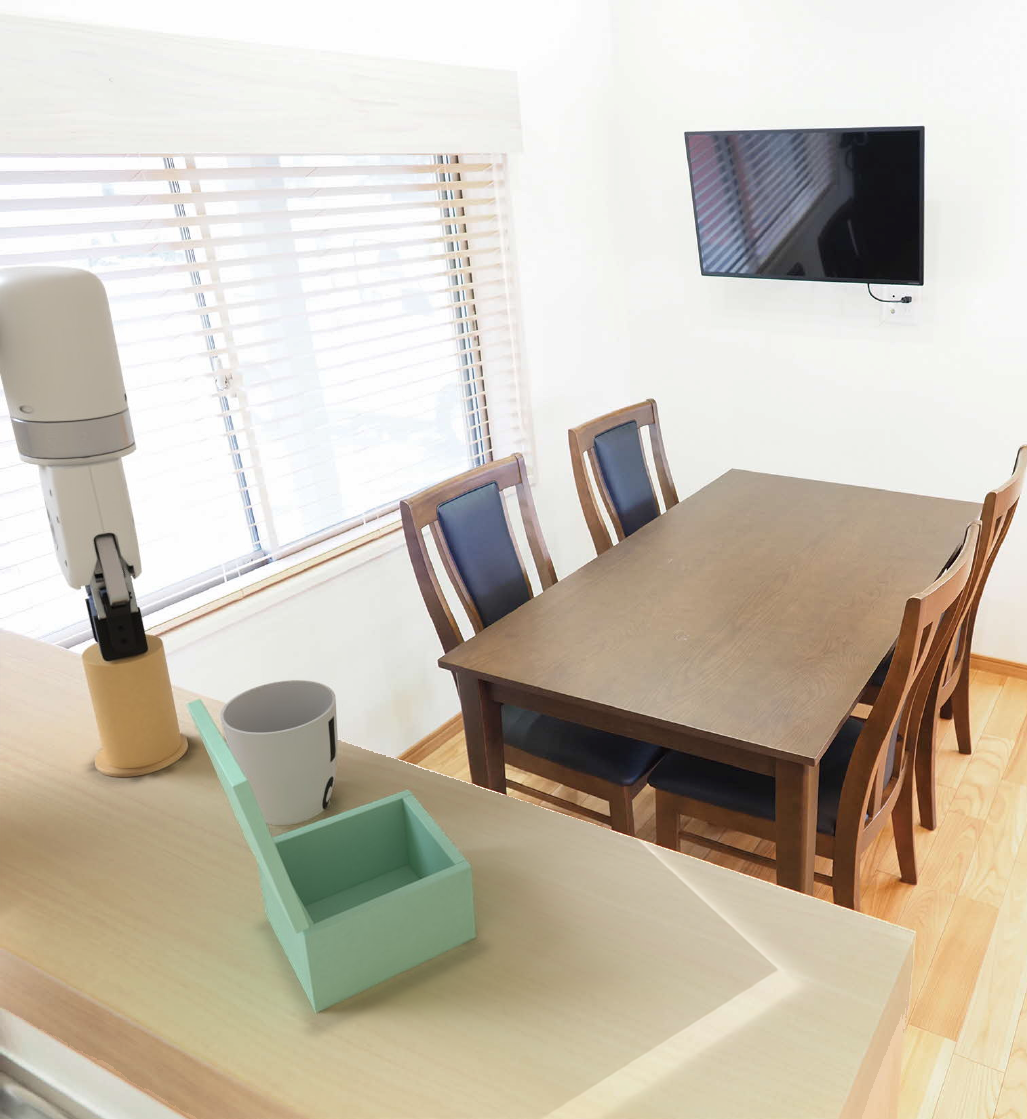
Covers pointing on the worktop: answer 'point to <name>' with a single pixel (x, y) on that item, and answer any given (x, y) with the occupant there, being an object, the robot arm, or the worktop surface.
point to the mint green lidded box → (370, 897)
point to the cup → (285, 747)
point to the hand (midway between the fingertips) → (121, 645)
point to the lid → (248, 815)
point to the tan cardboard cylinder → (133, 704)
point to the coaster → (128, 772)
